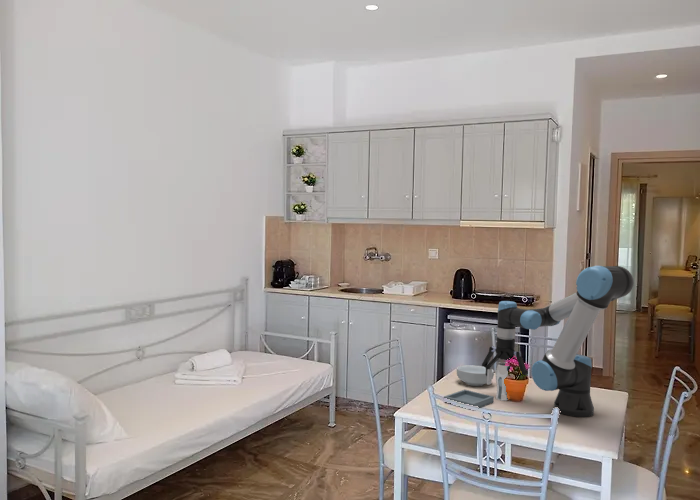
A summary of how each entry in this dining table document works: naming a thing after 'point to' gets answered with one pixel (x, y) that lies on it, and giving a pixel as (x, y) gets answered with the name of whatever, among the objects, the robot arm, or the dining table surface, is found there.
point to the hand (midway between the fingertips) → (503, 387)
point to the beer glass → (501, 380)
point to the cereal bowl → (473, 375)
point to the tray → (471, 398)
